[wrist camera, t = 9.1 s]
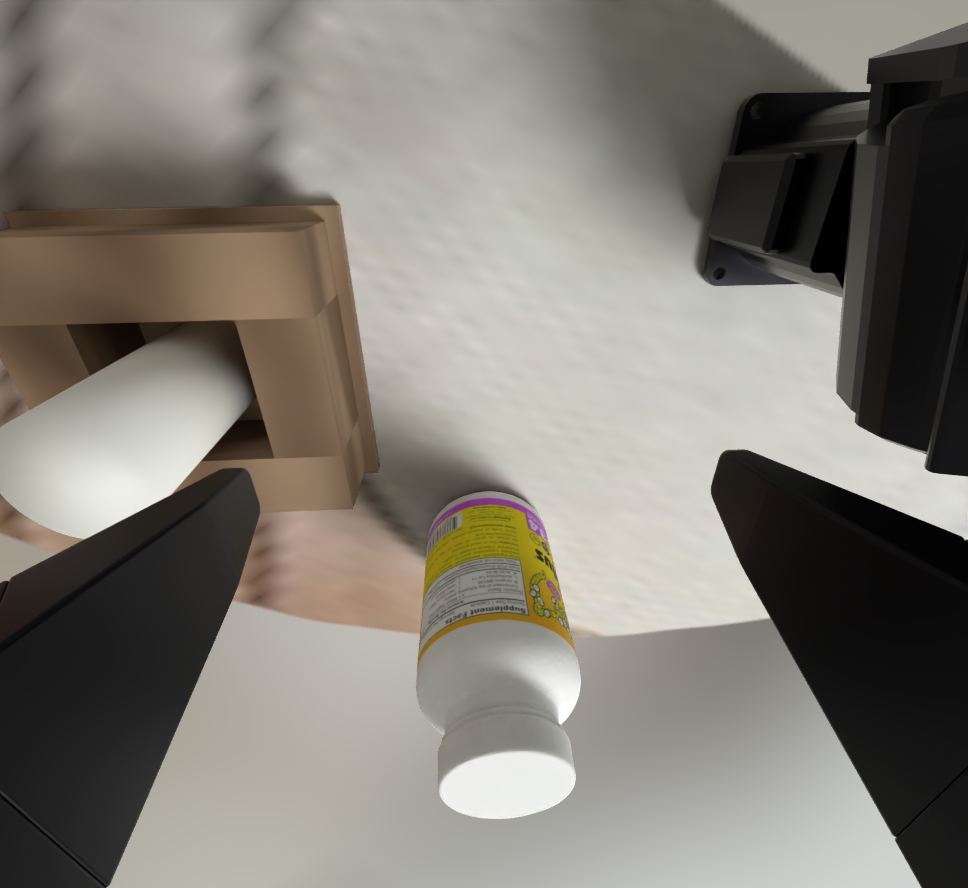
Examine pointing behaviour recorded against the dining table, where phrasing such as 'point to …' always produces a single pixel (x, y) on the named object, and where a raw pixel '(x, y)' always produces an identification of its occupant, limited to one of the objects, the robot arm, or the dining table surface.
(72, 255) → the socket
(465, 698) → the supplement bottle
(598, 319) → the dining table surface
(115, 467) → the peg
